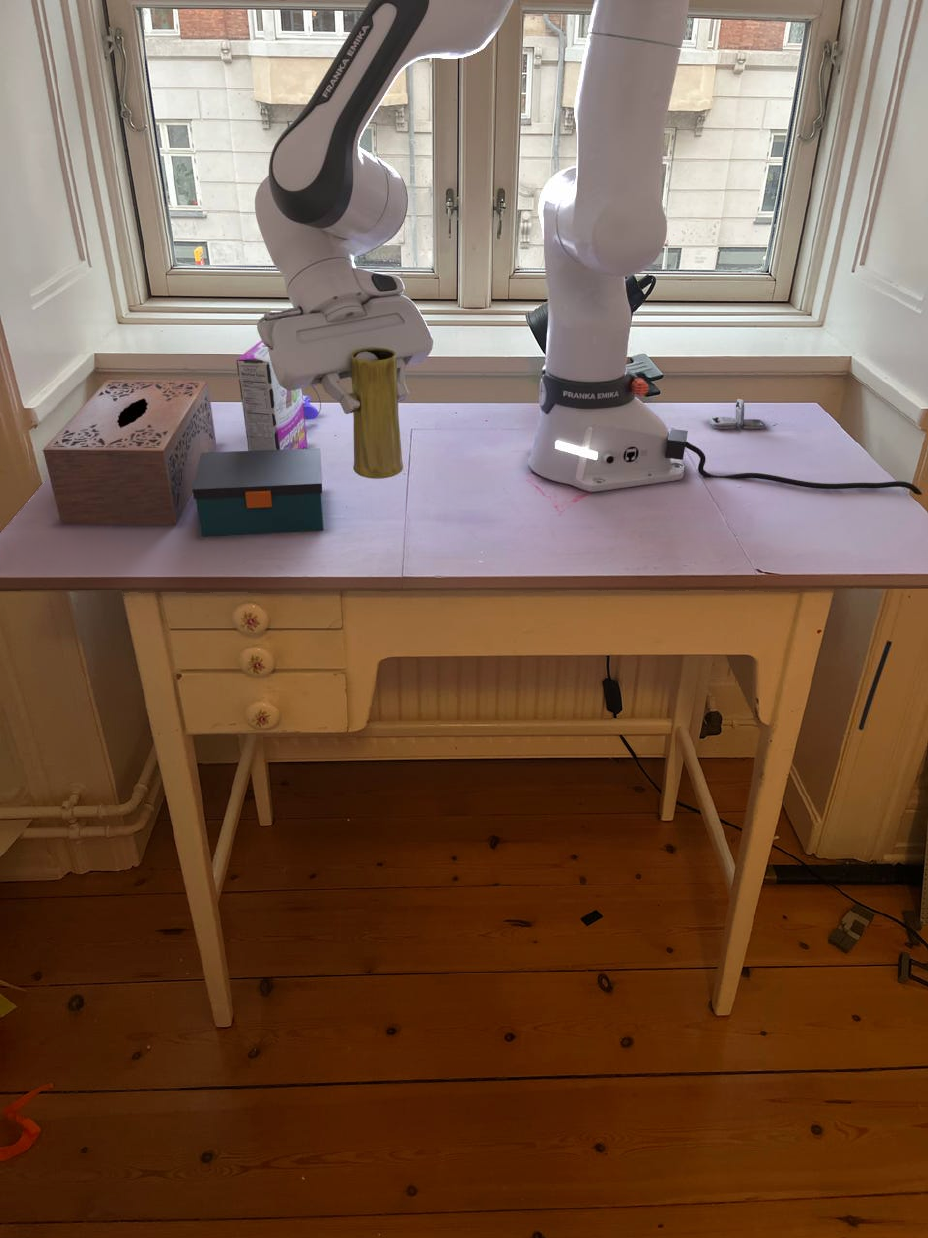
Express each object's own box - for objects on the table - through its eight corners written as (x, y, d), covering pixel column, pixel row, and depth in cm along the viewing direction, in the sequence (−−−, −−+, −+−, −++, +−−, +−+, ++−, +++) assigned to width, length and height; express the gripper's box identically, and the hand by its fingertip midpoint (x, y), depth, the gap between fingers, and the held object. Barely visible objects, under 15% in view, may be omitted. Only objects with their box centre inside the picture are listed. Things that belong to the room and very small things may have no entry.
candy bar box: (277, 443, 141) (266, 334, 132) (308, 446, 140) (299, 336, 131) (248, 472, 131) (234, 357, 123) (281, 475, 131) (270, 360, 122)
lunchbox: (323, 491, 127) (320, 446, 123) (325, 532, 116) (321, 485, 113) (207, 496, 125) (201, 451, 121) (199, 539, 114) (191, 491, 111)
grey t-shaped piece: (713, 429, 149) (718, 403, 146) (708, 422, 151) (712, 397, 149) (765, 429, 149) (770, 403, 147) (759, 422, 152) (764, 396, 149)
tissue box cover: (119, 445, 139) (106, 380, 133) (216, 445, 139) (207, 380, 134) (61, 523, 117) (42, 449, 112) (176, 524, 118) (163, 450, 112)
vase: (413, 468, 114) (410, 353, 106) (376, 484, 110) (371, 365, 103) (380, 455, 118) (375, 342, 110) (343, 469, 114) (335, 354, 106)
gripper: (257, 299, 102) (307, 410, 101) (411, 275, 113) (458, 375, 111) (245, 330, 108) (292, 436, 107) (393, 304, 118) (437, 400, 117)
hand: (378, 404), depth 109 cm, fingers closed on vase, 5 cm apart
